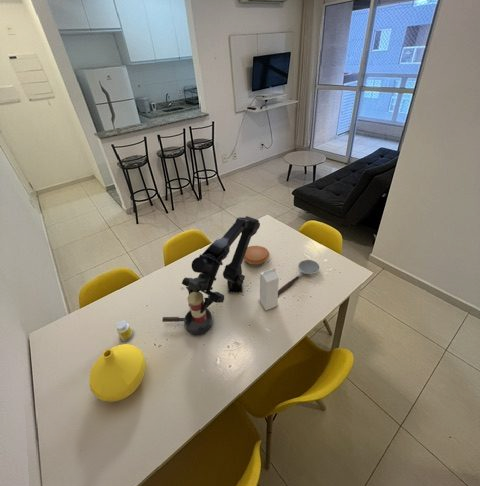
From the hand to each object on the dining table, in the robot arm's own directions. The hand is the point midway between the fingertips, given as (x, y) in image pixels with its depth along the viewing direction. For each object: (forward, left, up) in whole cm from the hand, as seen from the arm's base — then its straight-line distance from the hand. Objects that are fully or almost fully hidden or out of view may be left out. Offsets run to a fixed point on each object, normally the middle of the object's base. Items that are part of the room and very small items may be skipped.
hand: (195, 309), depth 105 cm
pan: (0, -2, -13) cm, 13 cm away
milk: (-31, -13, -13) cm, 36 cm away
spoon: (-45, -27, -13) cm, 54 cm away
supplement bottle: (+31, +3, -13) cm, 34 cm away
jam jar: (-1, -1, -7) cm, 7 cm away
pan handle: (+11, -2, -11) cm, 16 cm away
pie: (-26, -44, -13) cm, 53 cm away
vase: (+25, +21, -13) cm, 35 cm away
